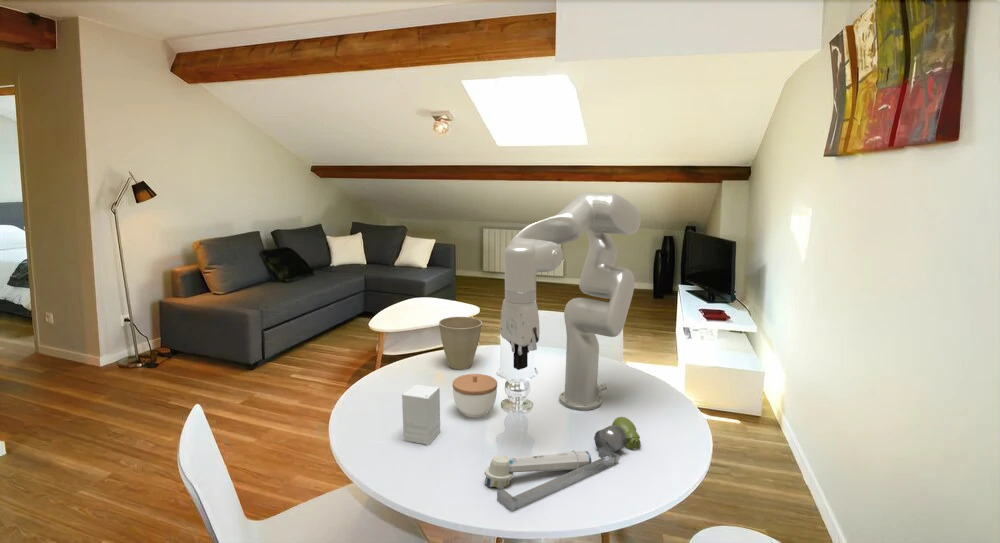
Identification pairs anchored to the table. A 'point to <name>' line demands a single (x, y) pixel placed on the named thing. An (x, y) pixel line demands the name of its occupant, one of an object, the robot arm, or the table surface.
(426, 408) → the supplement box
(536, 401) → the table surface
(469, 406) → the lidded bowl
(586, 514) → the table surface
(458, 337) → the plant pot
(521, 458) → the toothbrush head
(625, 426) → the pear
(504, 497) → the ladle
